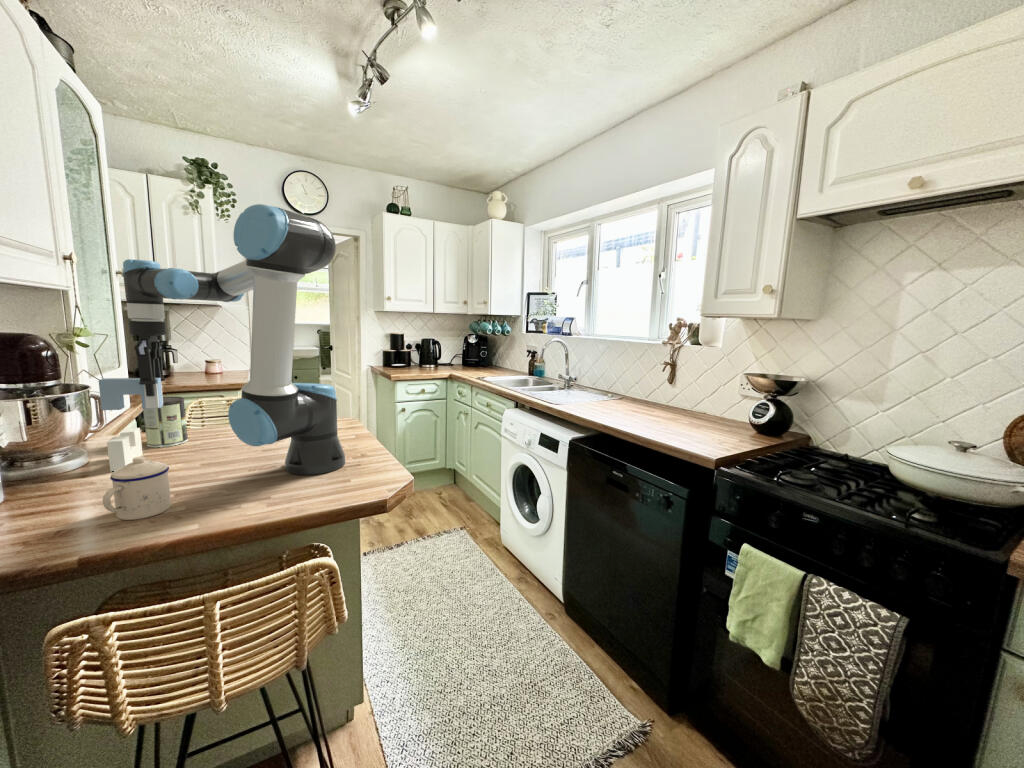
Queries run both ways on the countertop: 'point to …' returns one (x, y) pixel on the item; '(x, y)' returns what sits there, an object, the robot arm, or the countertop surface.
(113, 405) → the light blue flat block
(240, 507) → the countertop surface
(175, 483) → the countertop surface
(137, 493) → the teacup with lid
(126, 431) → the white notched slab
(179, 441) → the coffee can
